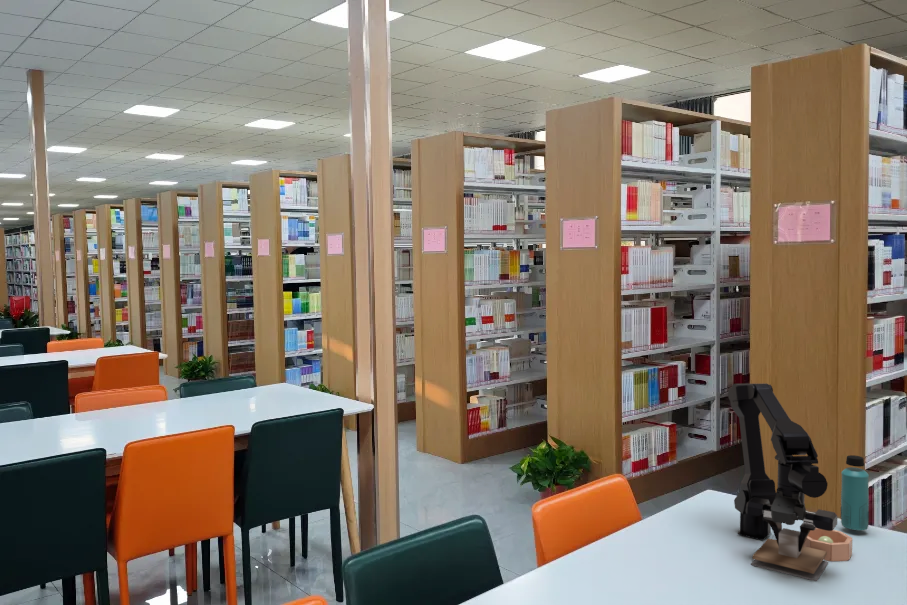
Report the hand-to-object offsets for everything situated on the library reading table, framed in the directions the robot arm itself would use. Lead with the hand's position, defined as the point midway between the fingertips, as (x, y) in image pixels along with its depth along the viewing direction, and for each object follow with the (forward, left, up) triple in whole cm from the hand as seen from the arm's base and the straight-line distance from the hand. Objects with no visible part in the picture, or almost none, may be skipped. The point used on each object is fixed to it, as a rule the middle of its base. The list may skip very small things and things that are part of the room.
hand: (789, 549), depth 166 cm
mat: (0, 0, -4) cm, 4 cm away
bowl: (+5, +13, -4) cm, 14 cm away
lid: (0, 0, -2) cm, 2 cm away
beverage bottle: (+8, +32, -4) cm, 33 cm away
